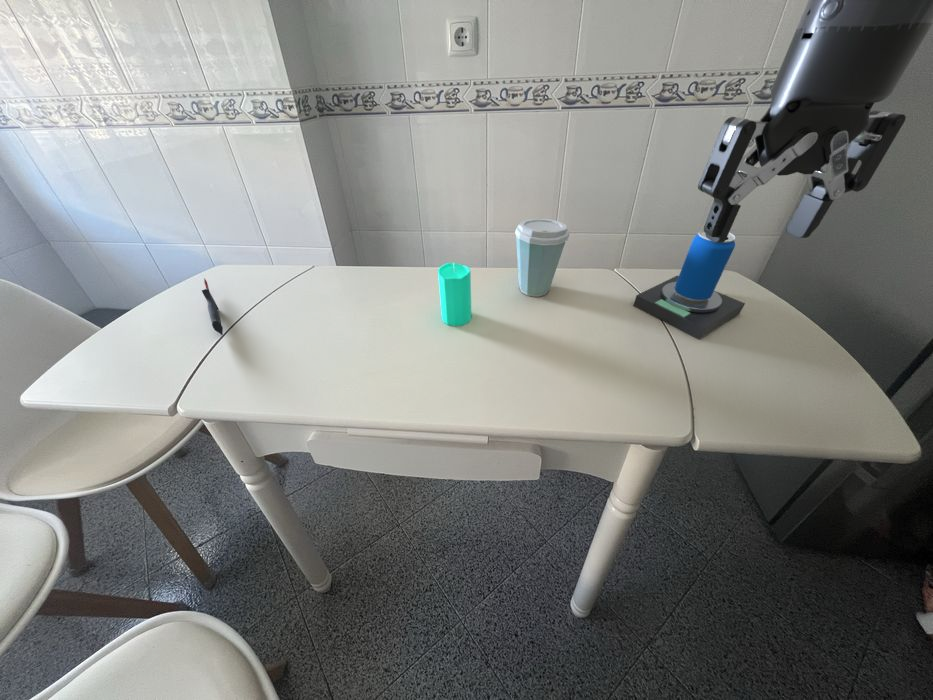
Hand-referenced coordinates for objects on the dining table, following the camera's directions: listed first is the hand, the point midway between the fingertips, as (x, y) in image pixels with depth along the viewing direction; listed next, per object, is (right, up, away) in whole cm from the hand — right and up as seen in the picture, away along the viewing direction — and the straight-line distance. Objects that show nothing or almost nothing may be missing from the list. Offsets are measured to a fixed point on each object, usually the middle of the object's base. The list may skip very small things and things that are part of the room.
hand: (754, 237), depth 37 cm
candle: (-31, -5, +36) cm, 48 cm away
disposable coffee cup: (-14, +2, +44) cm, 46 cm away
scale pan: (+15, -1, +35) cm, 38 cm away
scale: (+15, -3, +36) cm, 40 cm away
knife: (-82, -3, +41) cm, 92 cm away
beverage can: (+15, -1, +34) cm, 37 cm away
